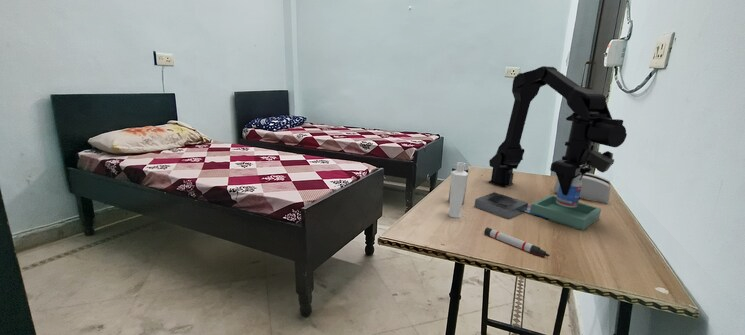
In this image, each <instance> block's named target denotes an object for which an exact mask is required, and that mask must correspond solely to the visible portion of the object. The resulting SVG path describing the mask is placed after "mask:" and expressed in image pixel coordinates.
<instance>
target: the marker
mask: <svg viewBox="0 0 745 335" xmlns="http://www.w3.org/2000/svg"><path fill="white" fill-rule="evenodd" d="M483 232H484V236H485V235H486V236H488V237H490V238H493V239H495V240H498V241H501V242H502V243H505V244H506V245H507V244H508V245H510V246H513V247H515V248H517V249H520V250H522V251H525V252H527V253H530V254H533V255H535V256H540V257H543V258H545V257H547V258H549V257H550V255H551V254H549V253H547V252H546V251H545V250H543V249H541V247H539V246H537V245H534V244H532V243H529V242H526V241H525V240H521V239H519V238H516V237H514V236H512V235H509V234H506V233H504V232H501V231H499V230H496V229H493V228H490V227H486V228H485V230H484V231H483ZM544 256H545V257H544Z"/></svg>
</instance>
